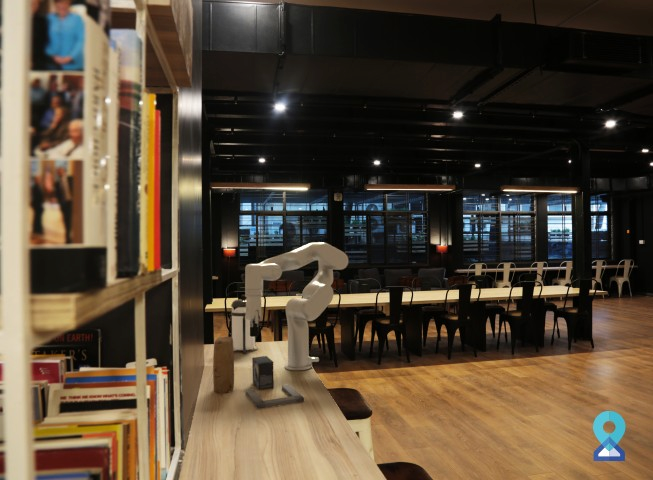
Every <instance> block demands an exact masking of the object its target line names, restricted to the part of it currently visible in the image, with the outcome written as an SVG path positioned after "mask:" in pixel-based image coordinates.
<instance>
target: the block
mask: <svg viewBox="0 0 653 480" xmlns="http://www.w3.org/2000/svg"><path fill="white" fill-rule="evenodd" d="M234 350H235V349H233V338H232V336H222V337H221V336H219V337H217V338H216V339H215V341H214V344H213V354H212V355H213V356H212V357H213V359H212V360H213V362H212V367H213V368H212V375H213V377H212V380H213V382H212V383H213V391H214V392H215V393H219V394H226V393H230V392H232V391H234V388H235V387H234V386H235V351H234Z"/></svg>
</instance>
